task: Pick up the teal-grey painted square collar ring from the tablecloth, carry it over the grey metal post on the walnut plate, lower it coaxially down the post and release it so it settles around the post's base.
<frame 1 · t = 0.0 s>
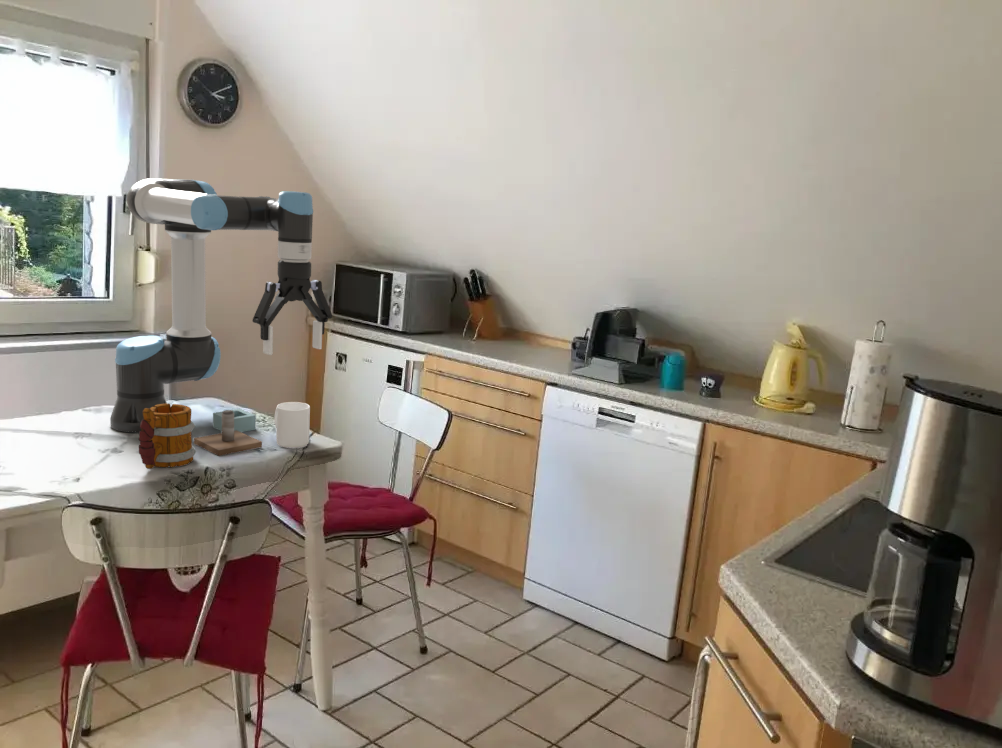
hand: (293, 351, 200), 28 cm above the table, fingers open, 13 cm apart
post block: (227, 445, 217), on the table
cup: (288, 442, 223), on the table
mug: (163, 464, 200), on the table
ring: (234, 428, 231), on the table
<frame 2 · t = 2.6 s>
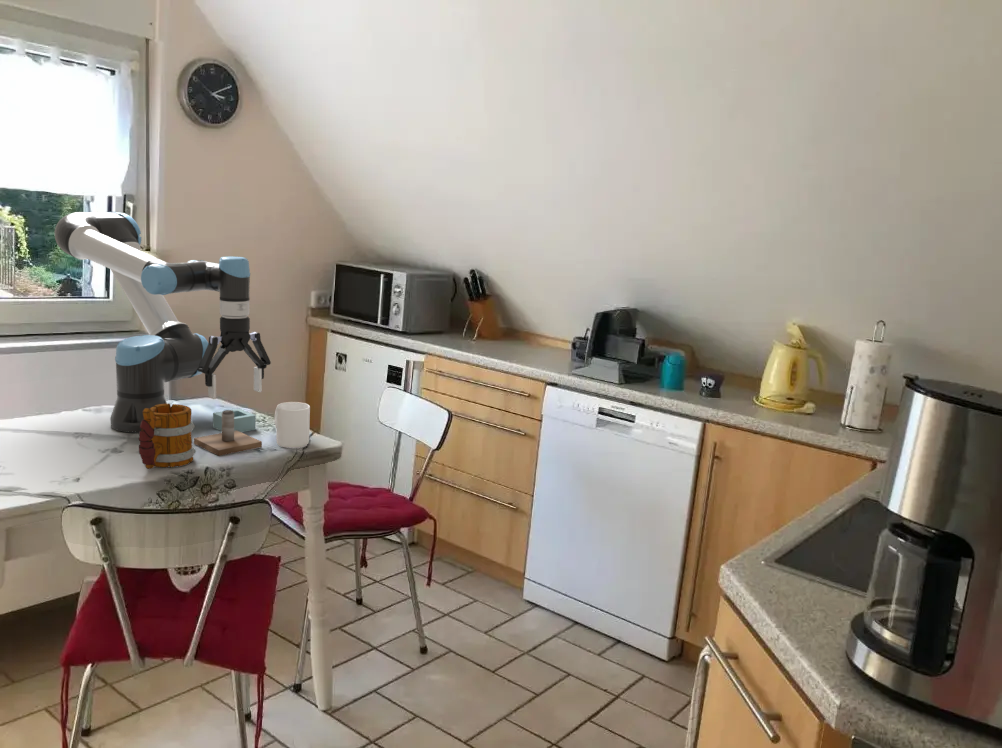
hand: (235, 394, 229), 9 cm above the table, fingers open, 13 cm apart
nothing on the table moved.
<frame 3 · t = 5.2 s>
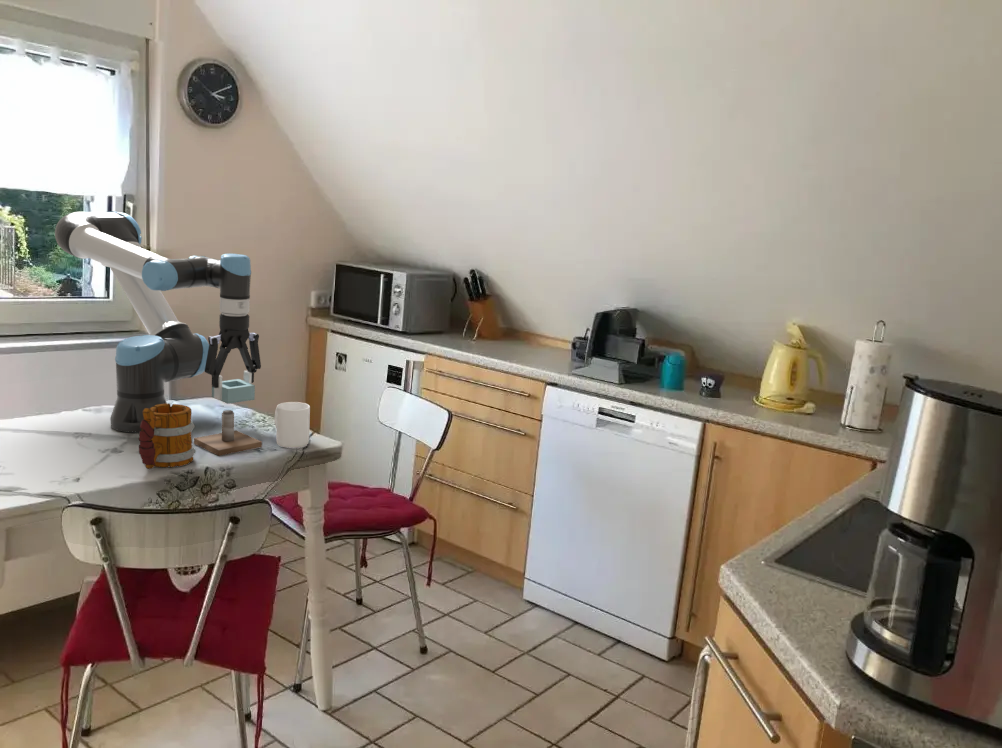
hand: (232, 396, 229), 9 cm above the table, fingers closed on ring, 8 cm apart
ring: (233, 398, 229), point 8 cm above the table, touching gripper
everything else where it was.
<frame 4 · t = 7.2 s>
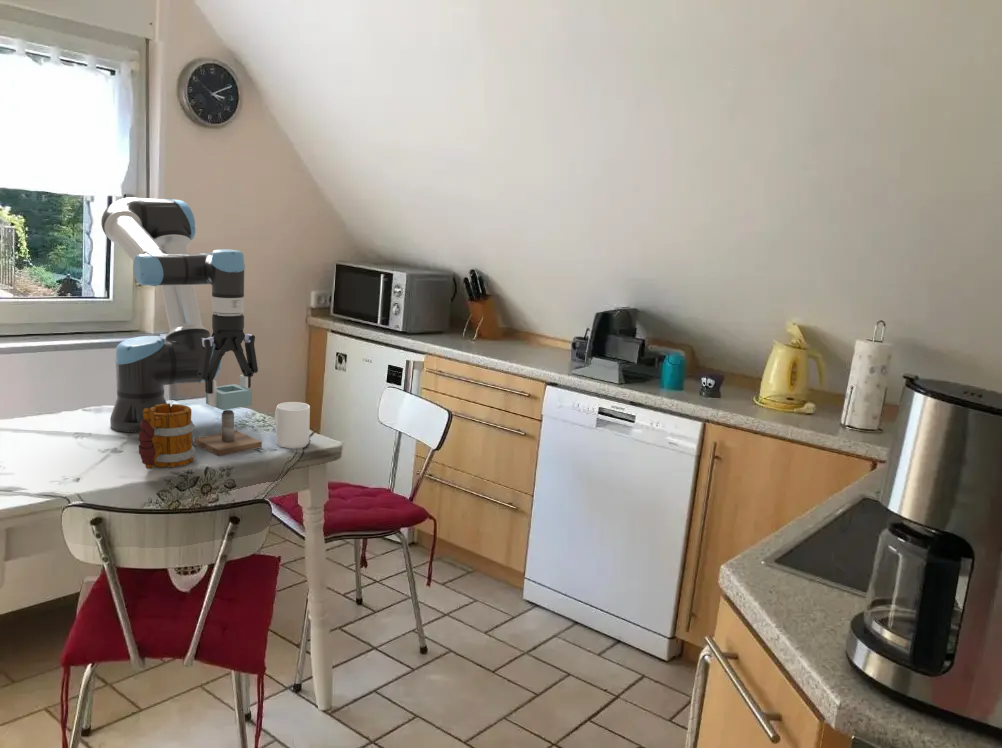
hand: (228, 403, 214), 11 cm above the table, fingers closed on ring, 8 cm apart
ring: (228, 404, 214), point 11 cm above the table, touching gripper
everything else where it was.
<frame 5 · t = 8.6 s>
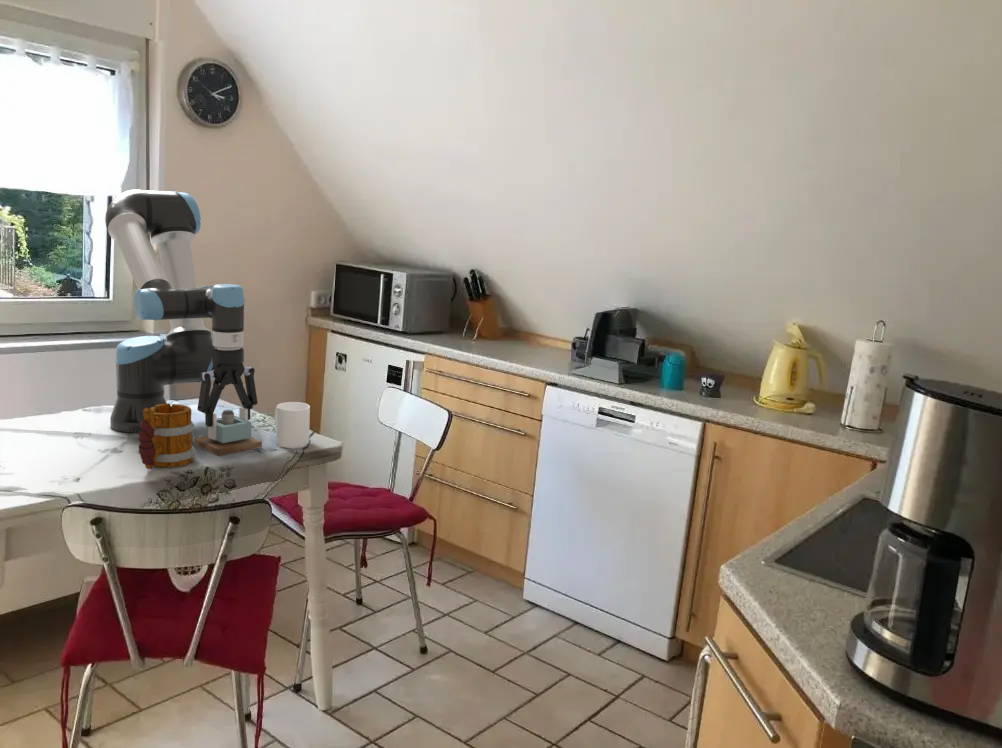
hand: (228, 435, 216), 3 cm above the table, fingers closed on ring, 8 cm apart
ring: (228, 436, 216), point 2 cm above the table, touching gripper
everything else where it was.
when the fingers open (2 cm above the table, at t = 9.2 s): ring stays where it is, resting on post block.
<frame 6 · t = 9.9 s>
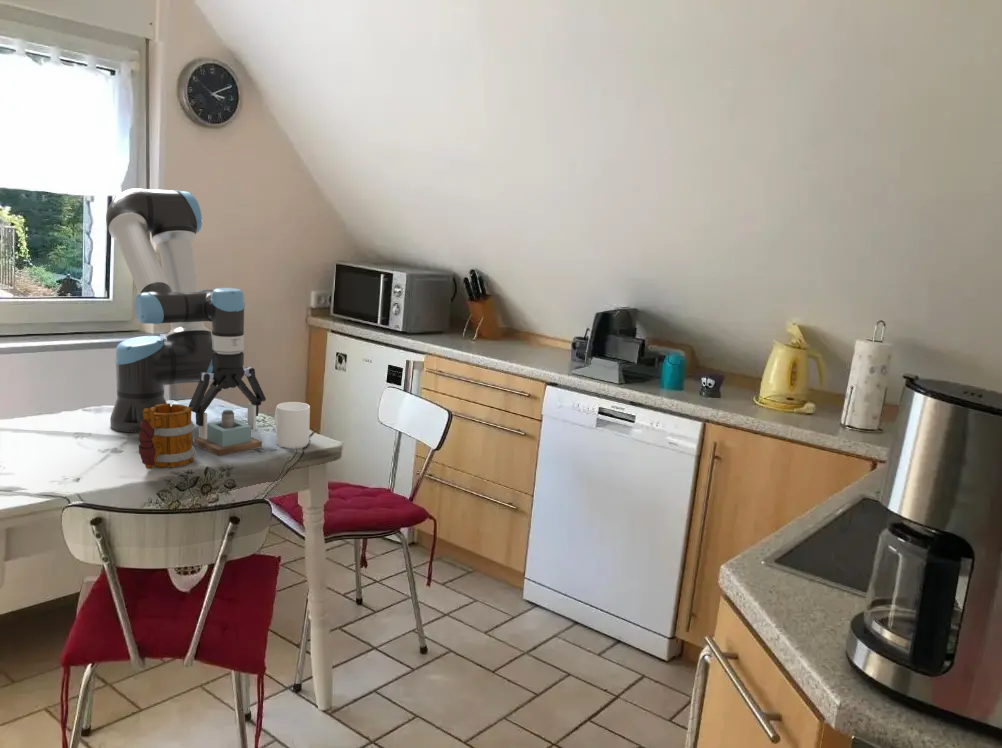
hand: (227, 433, 216), 3 cm above the table, fingers open, 13 cm apart
ring: (228, 440, 216), point 1 cm above the table, touching post block
everything else where it was.
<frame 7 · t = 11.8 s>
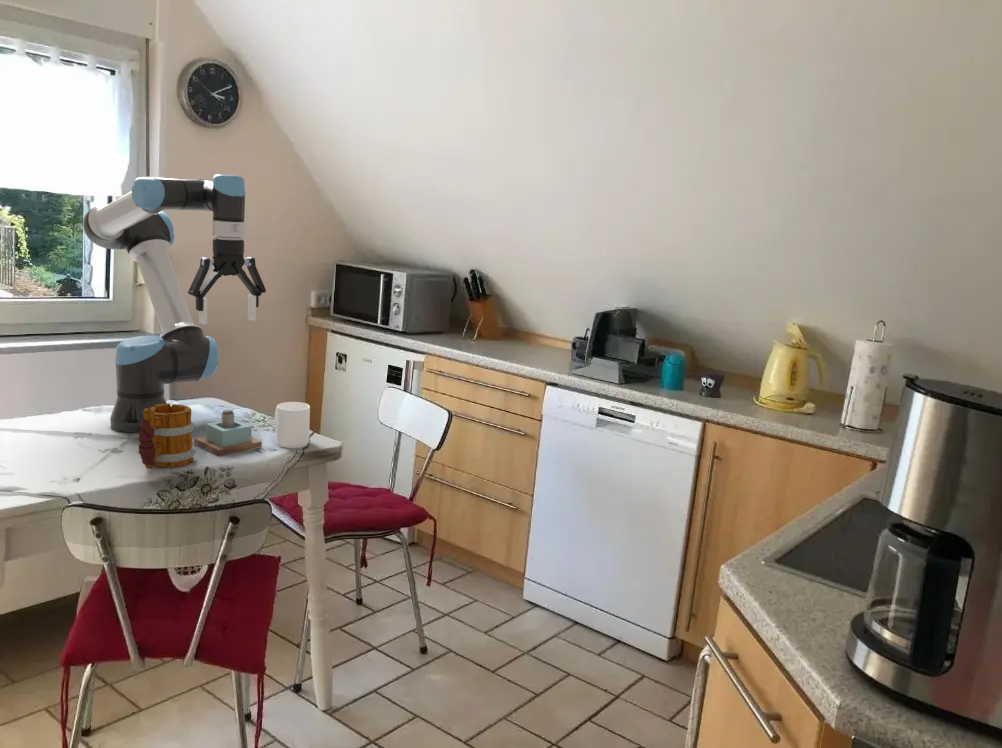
hand: (227, 321, 218), 30 cm above the table, fingers open, 13 cm apart
nothing on the table moved.
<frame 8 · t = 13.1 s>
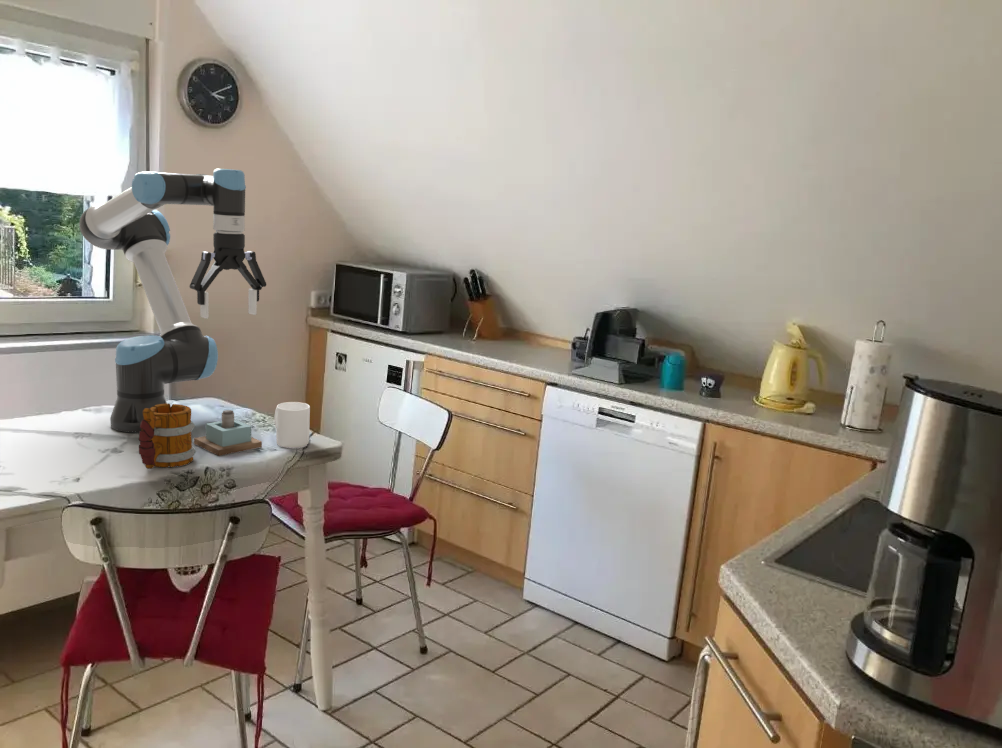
hand: (229, 316, 219), 32 cm above the table, fingers open, 13 cm apart
nothing on the table moved.
at the end: ring 0.3 cm off-centre on the post block, point 1.5 cm above the post block's base; the gripper is holding nothing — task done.
